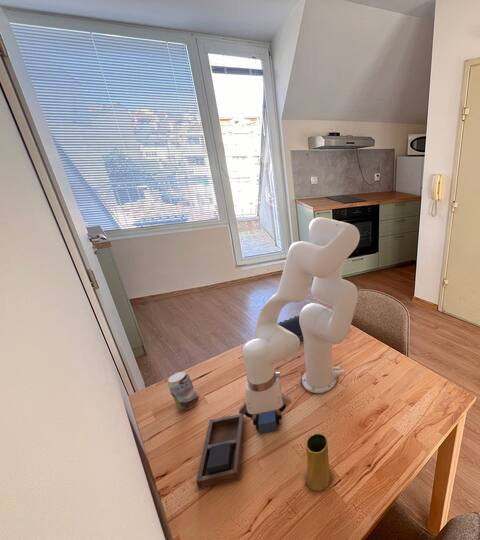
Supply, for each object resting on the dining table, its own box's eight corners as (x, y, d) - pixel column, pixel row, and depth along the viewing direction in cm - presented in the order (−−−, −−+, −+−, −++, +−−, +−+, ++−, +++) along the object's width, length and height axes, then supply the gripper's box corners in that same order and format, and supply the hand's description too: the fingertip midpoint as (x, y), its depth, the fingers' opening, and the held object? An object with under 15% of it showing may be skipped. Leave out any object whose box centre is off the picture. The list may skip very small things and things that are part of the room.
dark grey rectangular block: (233, 451, 82) (230, 442, 81) (230, 473, 77) (227, 463, 75) (213, 455, 81) (211, 446, 79) (209, 478, 76) (206, 468, 74)
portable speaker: (307, 325, 138) (306, 307, 134) (319, 336, 132) (318, 317, 127) (255, 347, 124) (252, 327, 120) (265, 360, 117) (262, 339, 113)
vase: (307, 467, 80) (305, 431, 74) (330, 465, 80) (329, 430, 74) (306, 492, 74) (303, 456, 68) (330, 490, 75) (329, 454, 69)
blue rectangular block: (276, 413, 95) (275, 404, 93) (276, 430, 89) (275, 421, 88) (260, 417, 93) (258, 408, 92) (259, 434, 88) (257, 424, 86)
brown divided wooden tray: (244, 420, 92) (243, 413, 91) (238, 479, 76) (236, 472, 75) (211, 426, 90) (209, 419, 88) (198, 489, 74) (196, 481, 73)
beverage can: (190, 414, 94) (181, 386, 89) (170, 409, 95) (160, 382, 90) (203, 398, 99) (196, 371, 94) (184, 394, 100) (176, 367, 95)
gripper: (291, 365, 89) (295, 407, 97) (231, 374, 85) (240, 418, 92) (292, 383, 82) (297, 427, 90) (227, 395, 78) (237, 440, 86)
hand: (268, 422), depth 91 cm, fingers open, 5 cm apart
